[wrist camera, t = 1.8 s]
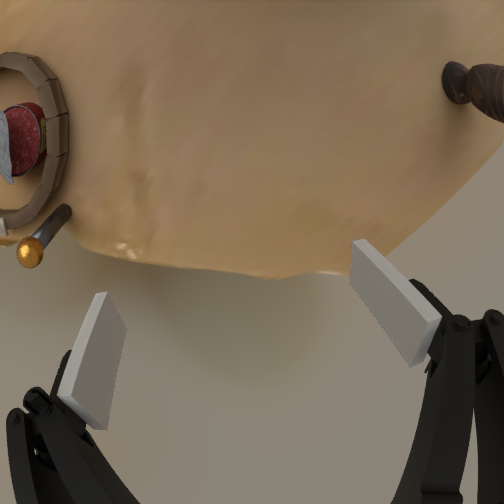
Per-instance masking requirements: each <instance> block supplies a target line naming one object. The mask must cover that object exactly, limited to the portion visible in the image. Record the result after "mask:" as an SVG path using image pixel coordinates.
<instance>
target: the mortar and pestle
mask: <svg viewBox="0 0 504 504" xmlns="http://www.w3.org/2000/svg"><path fill="white" fill-rule="evenodd" d="M443 83H444V88H445V91H446V94H447V96H448V98H449V99H450V100H451V101H452V102H454V103H456V104H467V103H469V102H472V104H473V105H474V106H475V107H476V108H477V109H479V110H480V111H481V112H483V113H484V114H486V115H487V116H489V117H491V118H492V119H495V120H497V121H500V122H502V123H504V66H499V65H495V64H480V65H475V66H473V67H472V68H471V69H470V70H468V69H467V68H466V67H465V66H464V65H462V64H460V63H457V62H453V61H452V62H449V63H448V64H447V65H446V67H445V69H444V72H443Z"/></svg>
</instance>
